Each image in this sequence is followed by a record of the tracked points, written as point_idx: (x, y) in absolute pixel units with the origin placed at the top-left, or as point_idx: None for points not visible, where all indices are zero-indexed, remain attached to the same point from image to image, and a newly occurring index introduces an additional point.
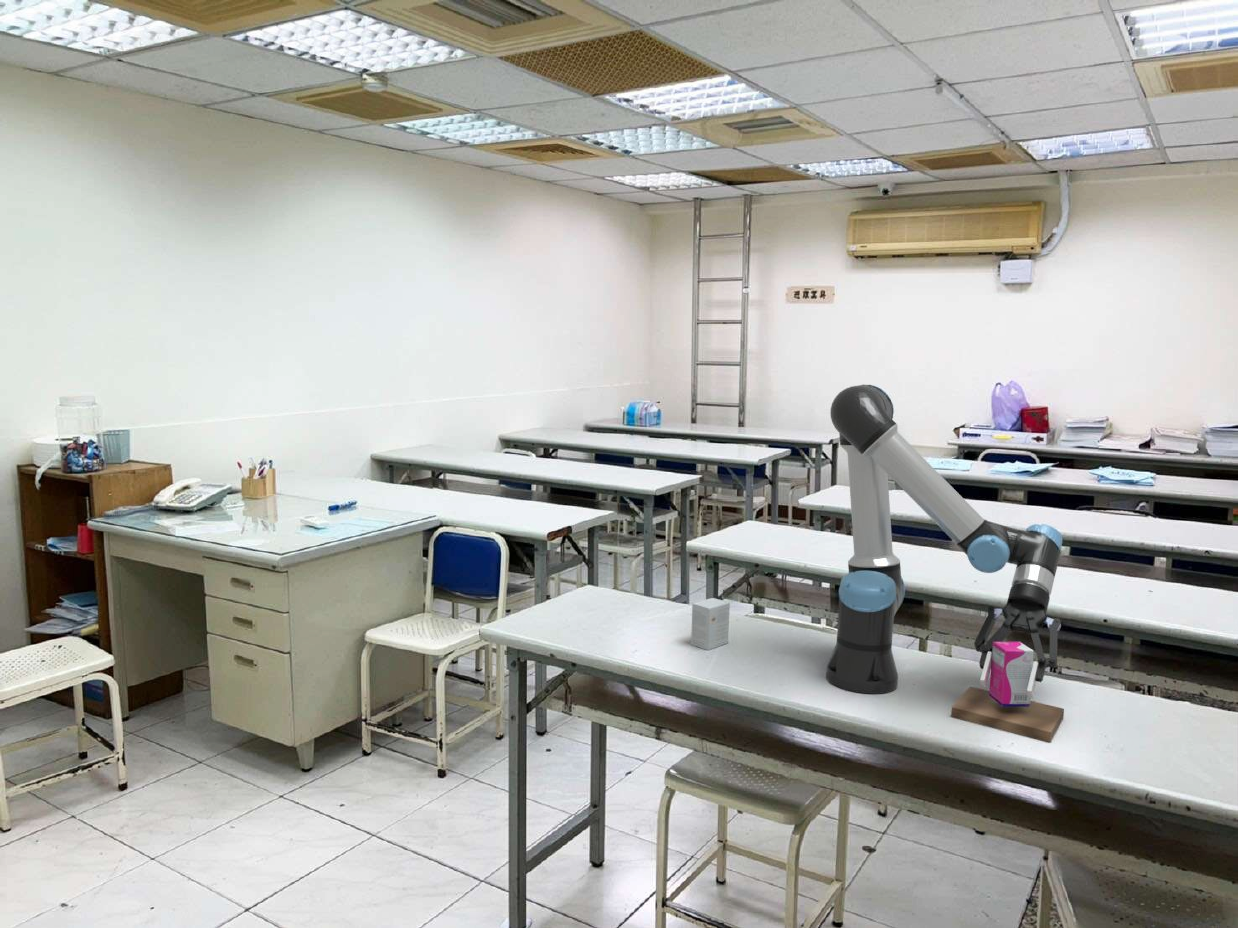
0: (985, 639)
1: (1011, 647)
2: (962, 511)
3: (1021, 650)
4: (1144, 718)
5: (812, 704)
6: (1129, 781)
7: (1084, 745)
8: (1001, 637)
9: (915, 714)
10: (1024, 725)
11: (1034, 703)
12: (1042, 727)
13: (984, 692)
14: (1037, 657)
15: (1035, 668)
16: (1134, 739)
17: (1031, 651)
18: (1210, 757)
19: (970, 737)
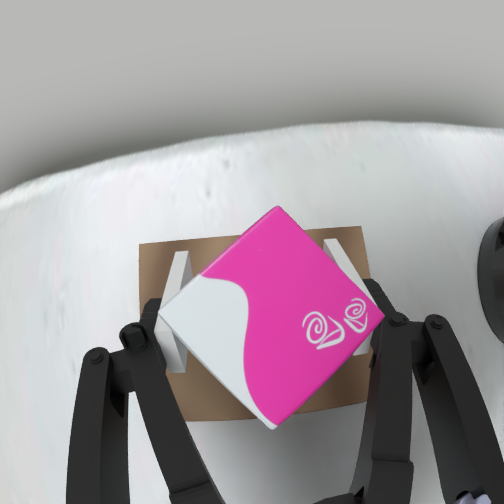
0: (428, 387)
1: (272, 277)
2: None
3: (211, 264)
4: (59, 493)
5: (487, 138)
6: (39, 193)
7: (93, 287)
8: (372, 413)
9: (401, 196)
10: (195, 240)
11: (215, 408)
12: (159, 258)
13: (342, 386)
14: (173, 394)
15: None
16: (38, 383)
17: (167, 302)
18: None
19: (280, 163)
